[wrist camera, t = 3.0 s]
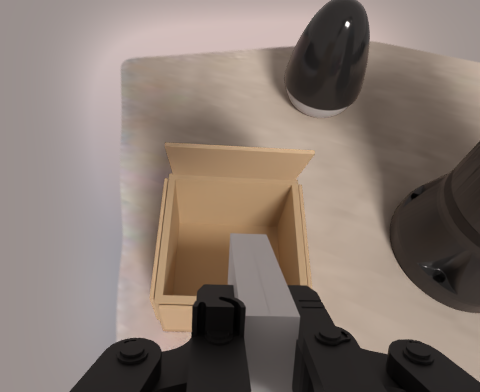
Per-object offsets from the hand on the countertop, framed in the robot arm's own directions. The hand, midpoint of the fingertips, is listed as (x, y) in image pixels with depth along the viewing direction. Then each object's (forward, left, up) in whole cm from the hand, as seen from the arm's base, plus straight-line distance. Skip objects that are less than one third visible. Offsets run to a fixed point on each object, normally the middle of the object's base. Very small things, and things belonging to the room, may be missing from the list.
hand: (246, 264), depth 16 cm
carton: (0, -9, -24) cm, 25 cm away
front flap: (0, -13, -11) cm, 17 cm away
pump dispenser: (-12, -35, -24) cm, 44 cm away
